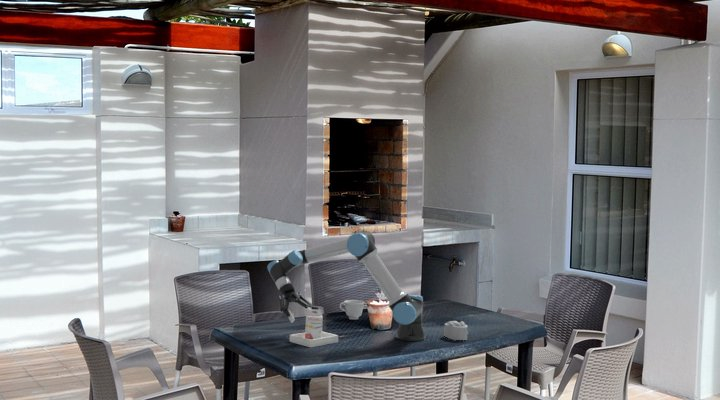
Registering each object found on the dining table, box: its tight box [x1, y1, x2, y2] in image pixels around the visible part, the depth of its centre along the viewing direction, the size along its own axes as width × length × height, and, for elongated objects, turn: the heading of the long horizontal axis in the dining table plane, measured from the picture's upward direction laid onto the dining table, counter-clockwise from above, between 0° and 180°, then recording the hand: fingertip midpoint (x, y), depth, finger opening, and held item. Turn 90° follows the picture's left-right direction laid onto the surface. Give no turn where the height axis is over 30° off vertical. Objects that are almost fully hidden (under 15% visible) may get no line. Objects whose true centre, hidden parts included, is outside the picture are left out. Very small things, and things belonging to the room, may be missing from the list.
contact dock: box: [289, 330, 339, 348], centre depth 457 cm, size 16×19×4 cm
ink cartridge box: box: [304, 308, 323, 339], centre depth 457 cm, size 9×5×15 cm, turn 91°
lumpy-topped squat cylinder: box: [443, 320, 469, 342], centre depth 477 cm, size 10×13×9 cm
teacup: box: [339, 299, 365, 321], centre depth 519 cm, size 12×15×10 cm
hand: (303, 319), depth 462 cm, fingers open, 13 cm apart
